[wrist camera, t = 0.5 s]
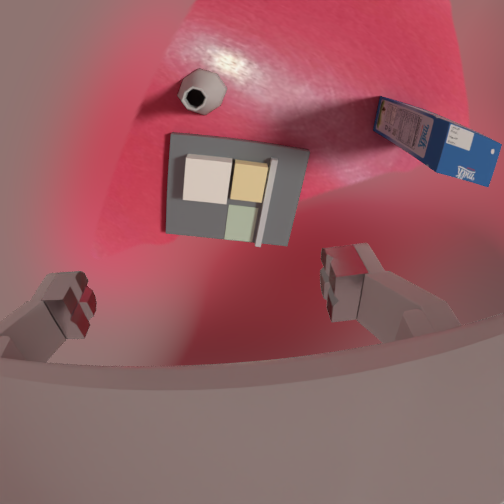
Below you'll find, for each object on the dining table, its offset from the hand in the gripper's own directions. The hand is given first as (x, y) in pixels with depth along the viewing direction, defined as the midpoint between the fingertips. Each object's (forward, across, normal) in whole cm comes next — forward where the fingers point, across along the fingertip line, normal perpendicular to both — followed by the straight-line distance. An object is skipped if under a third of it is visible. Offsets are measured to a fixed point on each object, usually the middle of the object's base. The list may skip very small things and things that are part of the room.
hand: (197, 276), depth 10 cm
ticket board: (+42, 0, +15) cm, 45 cm away
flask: (+42, +4, -2) cm, 42 cm away
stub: (+40, -2, +12) cm, 42 cm away
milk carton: (+42, -29, +3) cm, 51 cm away
